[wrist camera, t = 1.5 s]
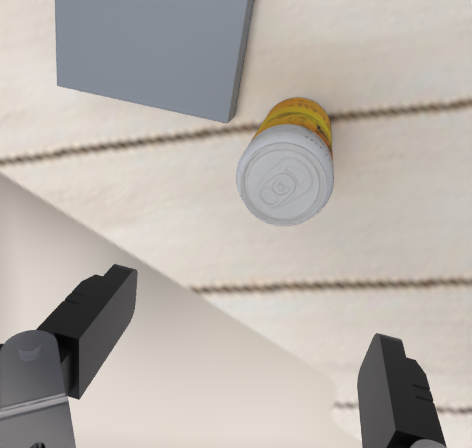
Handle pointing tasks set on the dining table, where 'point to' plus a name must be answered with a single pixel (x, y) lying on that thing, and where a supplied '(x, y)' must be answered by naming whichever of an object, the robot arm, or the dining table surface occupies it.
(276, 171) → the beer can
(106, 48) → the stand
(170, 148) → the dining table surface
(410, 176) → the dining table surface
